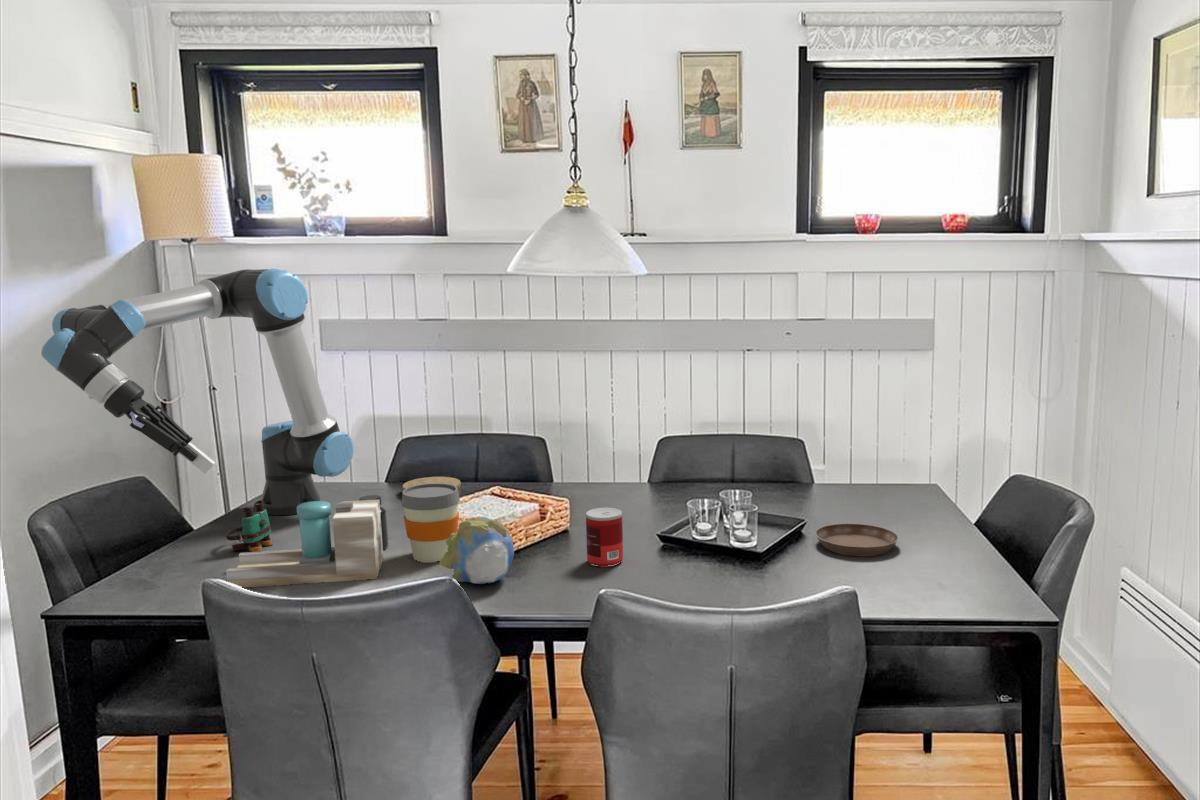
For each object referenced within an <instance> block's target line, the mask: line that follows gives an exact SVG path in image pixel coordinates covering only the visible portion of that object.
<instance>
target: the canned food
mask: <svg viewBox="0 0 1200 800" xmlns="http://www.w3.org/2000/svg"><path fill="white" fill-rule="evenodd" d="M585 513H586V514H585V530H586V536H585V537H586V560H587V562H589V563H590V564H594V565H598V566H608V565H614V564H617V563H619V562H621V561H623V559H624V544H623V543H624V537H623V536H624V535H623V531H624V530H623V528H624V527H623V512H622V510H621V509H618V508H615V507H597V508H592V509H590V510H588V511H587V512H585ZM589 563H588V564H589ZM621 563H622V562H621ZM590 564H589V565H590Z"/></svg>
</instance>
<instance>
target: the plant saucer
mask: <svg viewBox="0 0 1200 800" xmlns="http://www.w3.org/2000/svg"><path fill="white" fill-rule="evenodd" d="M815 536H816V537H817V540H818V541H819V543H820V544H821V545H822V546H823V547H824V548H825V549H826V550H828V551H830V552H833V553H836V554H840V555H843V556H851V557H873V556H879V555H883V554H885V553H887V552H889V551H890V550H891V549H892V548H893V547H894V546H895V545H896V543H897V542H898V541H899V535H897V533H896V532H894V531H892V530H890V529H887V528H884V527H880V526H877V525H876V526H875V525H871V524H863V523H835V524H829V525H825V526H822V527H819V528H818V529H816V531H815Z"/></svg>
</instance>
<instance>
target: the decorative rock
mask: <svg viewBox="0 0 1200 800" xmlns="http://www.w3.org/2000/svg"><path fill="white" fill-rule="evenodd" d="M446 543H447V546H449V547H448V548H447V549H448V552H445V554H444V556H443V557H442V558H440V562H439V564H440V565H441V566H442V567H444V568H447V569H450V570H452V569H453V575H452V576H451V579H452V578H454V579H456V580H457V581H459V582H458V583H465V582H466V583H470V584H475V585H476V584H478V585H486V583H488V584H492V583H496V582H497V581H499V580H501V579H502V578H504V576H505V575H506V573H508V572H509V568H511V565H512V563H513V561H514V555H515V547H514V542H513V539H512V537H511V534H510V533H509V530H508V529H507V528H506V527H505V525H504V524H503V523H501V522H500V521H499V520H496V519H492V518H488V517H486V516H472V517H471V518H468V519H466V520H463V521H461V522H460V523H458V530H457V532H456V533H451V535H450V537H449V538H448V539H447V540H446Z"/></svg>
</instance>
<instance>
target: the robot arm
mask: <svg viewBox="0 0 1200 800" xmlns="http://www.w3.org/2000/svg"><path fill="white" fill-rule="evenodd" d="M308 302H309V294H308V290H307V287H306V286H305V284H304V282H303V280H302V279H301V278H300V277H299V276H298V275H297V274H295V273H293V272H291V271H290V270H289V271H288V270H285V269H279V268H269V269H267V268H266V269H265V268H264V269H241V270H236V271H235V270H234V271H232V272H228V273H225V274H221V275H217V276H213V277H210V278H204V279H201V280H200V281H199V282H198V283H197V284H196V285H191V286H187V287H182V288H177V289H172V290H166V291H162V292H156V293H152V294H146V295H142V296H141V295H140V296H136V297H131V298H126V299H119V300H117V301H115V300H114V301H111V302H106V303H101V304H97V305H91V306H86V307H81V308H80V307H79V308H76V307H72V308H71V307H70V308H67V309H66V308H64V309H62V310H60V311H58V312H57V313H56V314H55V315H54V317H53V319H52V323H51V327H52V331H53V335H52V336H51V337H50V338H49V339H47V341H46V342H44V344H43V346H42V348H41V351H40V352H41V357H42V358H43V359H44V360H45V361H46V362H47V363H48V364H49V365H50V366H51V367H52V368H54V369H55V371H57V372H59V373H60V374H62V375H63V376H64V377H65V378H66V379H68V380H69V381H71V382H72V383H73V384H75V385H76V386H77V387H79V388H80V389H81V390H82V391H83V392H85V393H86V394H87V395H88V399H89V400H94V401H96V402H97V403H98V404H101V405H102V404H103V408H104V410H107V412H109V413H110V414H111V415H113V416H114V417H115V418H121V417H123V416H126V418H128V419H129V420H130V421H131V422H130V423H129V427H131V428H132V429H134V430H136V431H138V432H140V433H141V434H143V435H145V436H146V437H148V438H149V439H150V440H152V441H154V442H155V443H156V444H157V445H159V446H161V447H162V448H164V449H165V450H167V451H168V452H170V453H171V454H172V455H173V456H175V457H176V456H177V455H178V454H180V456H182V457H183V458H185V459H186V460H187V461H188V462H189V463H190V464H192V465H194V467H195V468H197V469H198V470H199V471H200V472H202V473H203V474H207V473H208V472H209V470H210V469H211V468H213V466H214V465H215V464H216V462H215V461H214V460H213V459H212V458H211V457H209V456H208V455H207V454H206V453H204V452H203V451H202V450H201V449H199V448H198V447H197V445H194V444H193V443H192V441H193V437H192V436H190V435H189V434H188V433H187V432H186V431H185V430H184V429H183V428H182V427H180V425H178V423H177V422H175V420H173V419H172V418H171V417H170V416H169V415H168V414H167V413H166V411H165V410H164V409H163V408H162V407H161V406H160V405H157V406H154V405H153V404H152V403H150V402H147V401H146V400H144V399H143V396H144V394H145V390H144V388H142V387H141V386H140V385H139V384H137V382H135V381H134V380H133V379H129V376H128V375H127V374H126V373H125V372H124V371H123V370H121V369H120V368H118V367H117V366H116V365H114V363H112V362H111V361H109V360H108V359H109V358H111V356H113V355H114V354H115V353H117V351H119V350H120V349H122V347H124V346H125V345H126V344H127V343H129V342H130V341H132V339H134V338H136V337H137V335H138V334H139V333H140V332H142V331H147V330H152V329H156V328H160V327H164V326H170V325H175V324H178V323H182V322H186V321H188V322H189V321H191V320H196V319H201V318H205V317H206V318H208V319H210V320H216V319H220V318H227V317H230V318H233V317H234V318H249V319H252V321H253V322H252V323H253V325H254V327H255V329H256V330H255V331H256V332H257V333H259V334H260V335H262V336H264V337H265V339H266V343H267V346H268V348H269V349H268V350H269V353H270V355H271V358H272V362H273V365H274V367H275V371H276V373H277V377H278V379H279V382H280V386H281V389H282V392H283V395H284V398H285V401H286V404H287V407H288V410H289V414H290V416H291V420H287V421H283V422H282V421H281V422H277V423H271V424H267V425H265V426H264V427H263V428H262V429H261V440H260V441H261V446H262V454H263V467H264V477H265V479H264V480H265V483H264V487H263V491H262V493H261V494H262V495H261V499H260V500H263V502H264V505H263V509H266V511H267V515H272V516H289V515H297V506H298V505H300V504H302V503H306V502H313V501H321V496H320V493H319V491H318V488H317V486H316V484H315V482H314V479H313V476H312V475H314V476H315V475H316V476H318V477H321V478H322V477H330V478H333V477H337V476H339V475H341V474H342V473H343V472H345V471H346V470H347V469H348V467H349V466H350V464H351V461H352V459H353V457H354V453H355V451H354V450H355V445H354V443H353V440H352V437H351V436H350V435H348V434H347V433H346V432H344V431H340V428H339V424H338V422H337V419H336V417H335V416H333V415H331V414H329V412H328V409H327V407H326V404H325V400H324V397H323V394H322V391H321V387H320V384H319V381H318V378H317V373H316V372H315V367H314V364H313V361H312V358H311V355H310V352H309V348H308V346H307V342H306V339H305V336H304V333H303V330H302V325H303V323H304V322H305V319H306V316H305V314H304V313H305V311H306V310H307V304H308Z"/></svg>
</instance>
